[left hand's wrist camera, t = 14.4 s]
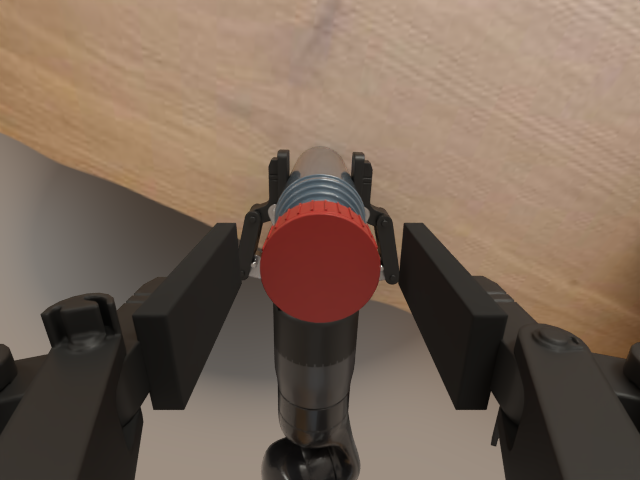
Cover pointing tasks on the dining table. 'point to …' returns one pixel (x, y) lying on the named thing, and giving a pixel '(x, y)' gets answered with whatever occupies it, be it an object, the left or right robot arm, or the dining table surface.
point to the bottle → (320, 182)
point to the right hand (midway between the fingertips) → (320, 153)
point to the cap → (320, 262)
